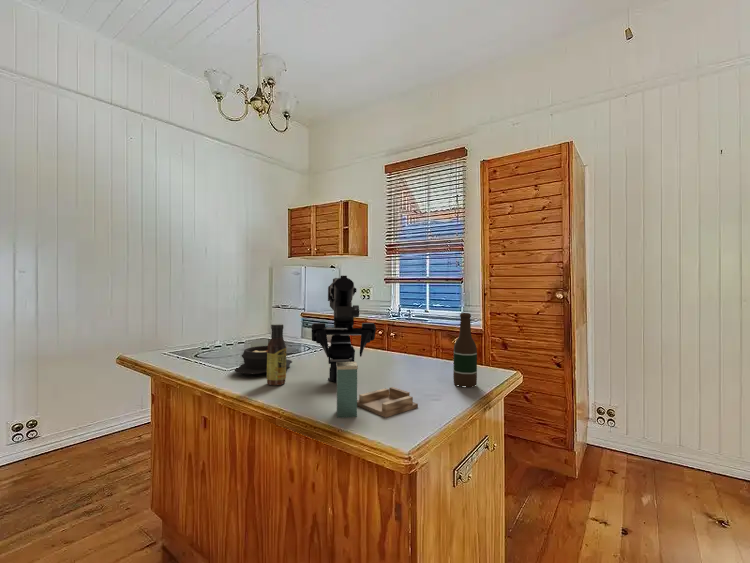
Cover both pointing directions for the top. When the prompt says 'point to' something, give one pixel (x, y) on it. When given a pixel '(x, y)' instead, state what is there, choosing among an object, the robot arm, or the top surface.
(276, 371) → the sauce bottle
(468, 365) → the beer bottle
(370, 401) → the wooden square frame
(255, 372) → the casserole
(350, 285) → the robot arm
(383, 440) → the top surface
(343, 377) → the tea tin
